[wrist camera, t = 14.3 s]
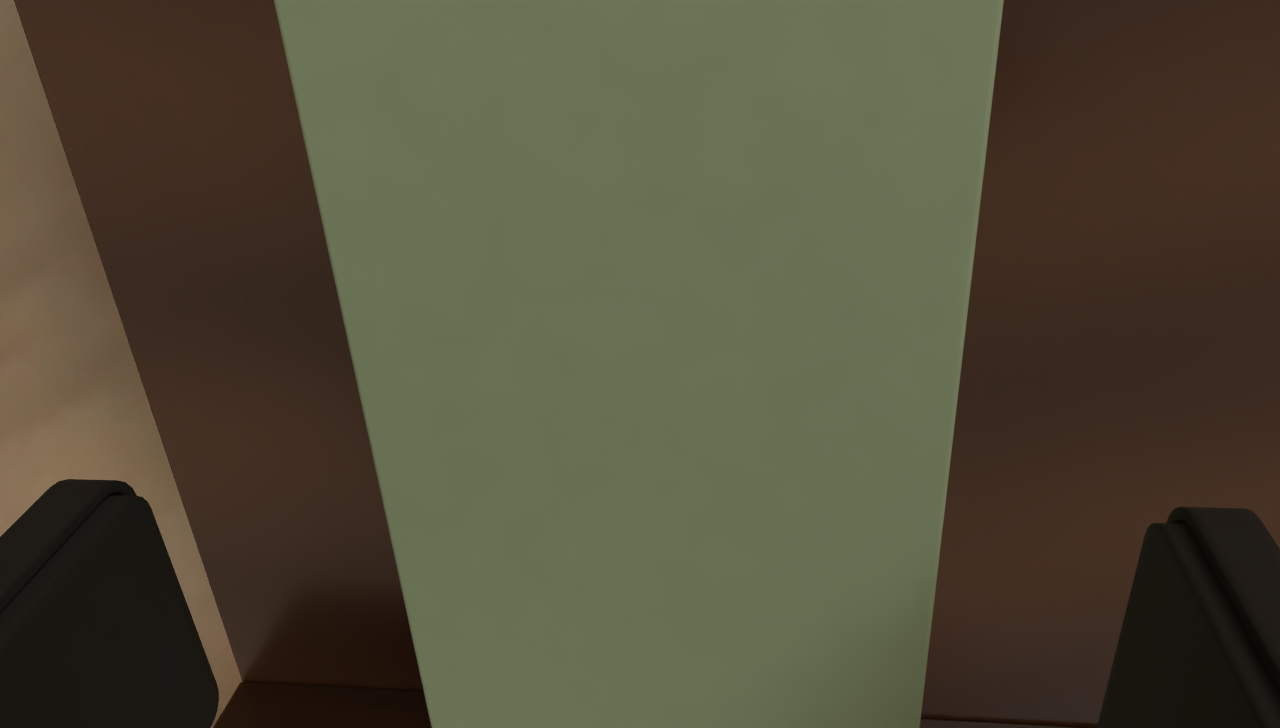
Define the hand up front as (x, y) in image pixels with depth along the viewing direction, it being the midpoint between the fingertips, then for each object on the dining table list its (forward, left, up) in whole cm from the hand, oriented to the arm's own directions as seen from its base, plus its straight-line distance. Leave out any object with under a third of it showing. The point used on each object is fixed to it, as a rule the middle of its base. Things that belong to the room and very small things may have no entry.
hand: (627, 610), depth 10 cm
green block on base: (0, 0, -7) cm, 7 cm away
